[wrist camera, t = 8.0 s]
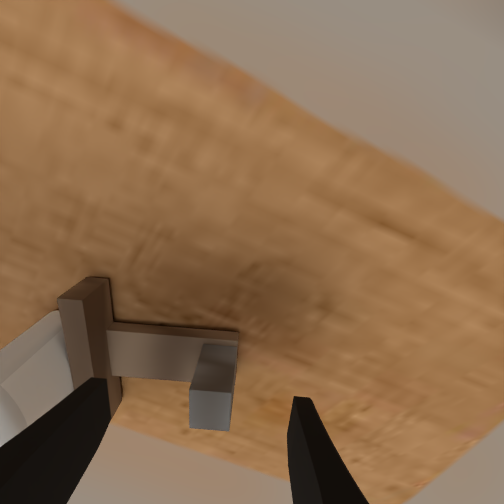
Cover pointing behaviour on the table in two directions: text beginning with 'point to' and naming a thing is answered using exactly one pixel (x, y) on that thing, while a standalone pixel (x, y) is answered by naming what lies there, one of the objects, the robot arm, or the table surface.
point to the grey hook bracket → (148, 354)
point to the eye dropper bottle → (33, 375)
